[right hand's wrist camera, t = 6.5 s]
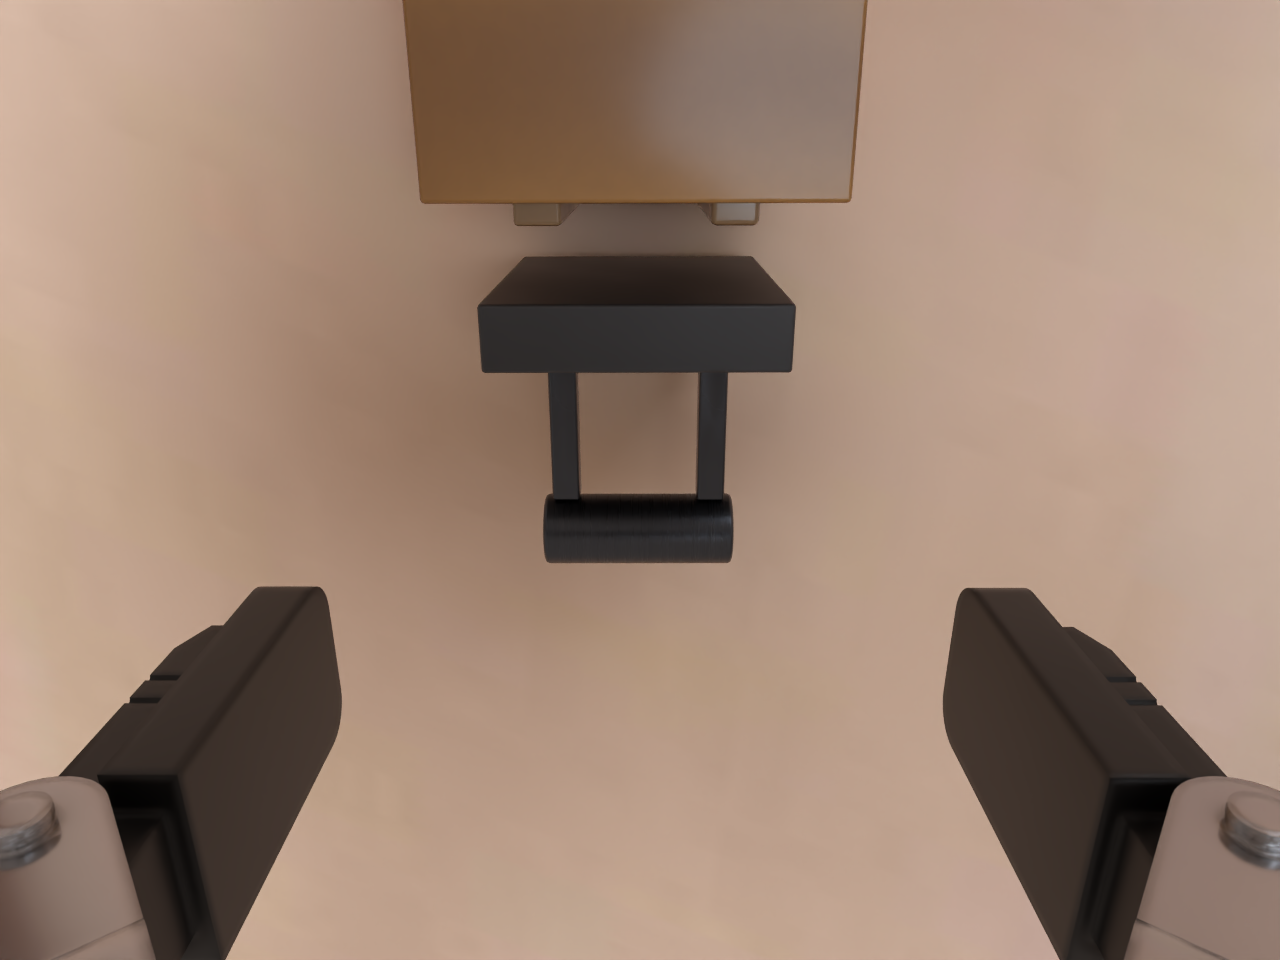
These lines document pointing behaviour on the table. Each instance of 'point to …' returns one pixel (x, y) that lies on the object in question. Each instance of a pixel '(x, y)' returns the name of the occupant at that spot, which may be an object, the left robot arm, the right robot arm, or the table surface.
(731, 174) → the cabinet
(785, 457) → the table surface
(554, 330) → the drawer
